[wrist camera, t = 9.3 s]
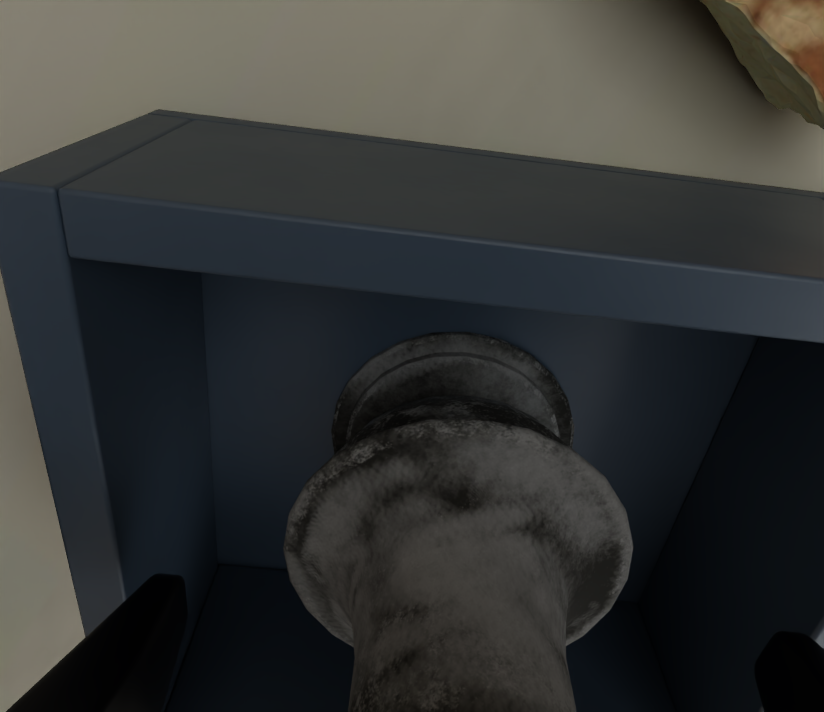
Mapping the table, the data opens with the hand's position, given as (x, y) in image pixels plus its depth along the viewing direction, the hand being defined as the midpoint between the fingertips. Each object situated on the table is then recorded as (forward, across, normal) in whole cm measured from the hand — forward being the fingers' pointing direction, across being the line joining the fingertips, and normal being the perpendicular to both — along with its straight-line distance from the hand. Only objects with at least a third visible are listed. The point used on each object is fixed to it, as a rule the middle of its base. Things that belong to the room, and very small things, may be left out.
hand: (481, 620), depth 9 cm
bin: (+5, 0, 0) cm, 5 cm away
